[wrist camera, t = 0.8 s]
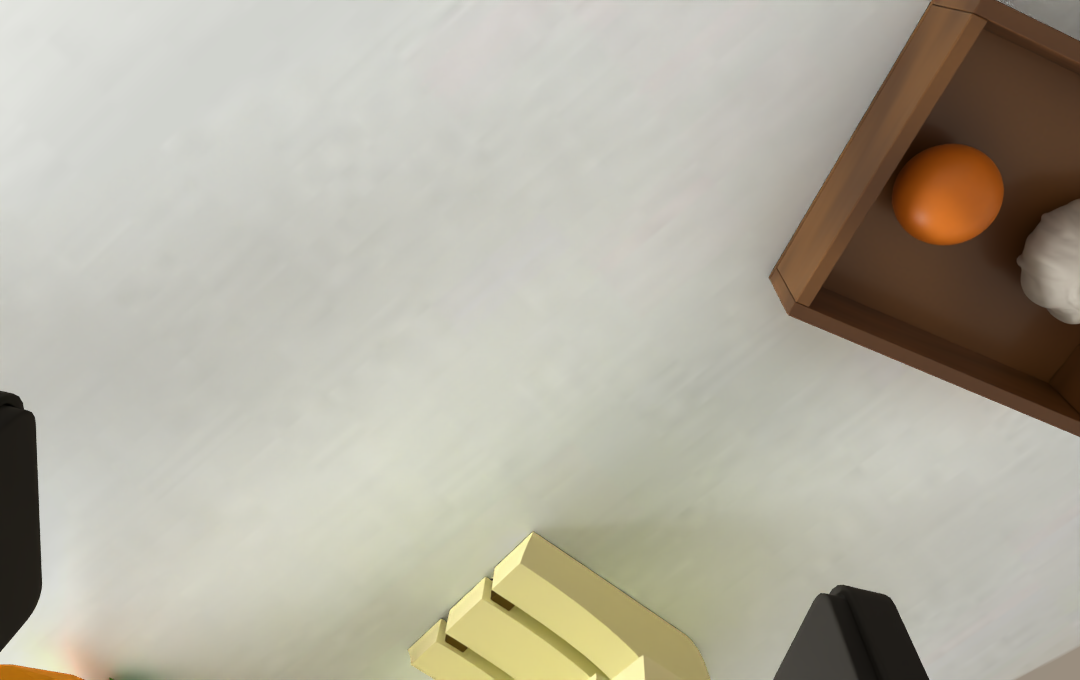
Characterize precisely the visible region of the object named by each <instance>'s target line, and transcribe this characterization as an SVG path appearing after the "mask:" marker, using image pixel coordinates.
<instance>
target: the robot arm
mask: <svg viewBox="0 0 1080 680" xmlns="http://www.w3.org/2000/svg"><path fill="white" fill-rule="evenodd" d="M41 589H42V572H41V546H40V521H39V495H38V470H37V445H36V422H35V417H34V415H33V413H32V412H30V411H28V410H24V407H23V402H22V401H21V399H20V397H19V396H17V395H15V394H12V393H8V392H3V391H0V652H1V651H2V649H3V648H4V647H5V646H6V645H7V643H8V642H9V641H10V640H11V639H12V637H13V636H14V635H15V634H16V633H17V631H18V630H19V629H20V628H21V627H22V626H23V624H24V623H25V622H26V621H27V620H28V618H29V617H30V615H31V614H32V613H33V611H34V609H35V607H36V605H37V603H38V600H39V597H40V594H41ZM773 680H929V678H928V676H927V674H926V671H925V669H924V667H923V665H922V663H921V661H920V658H919V656H918V654H917V652H916V650H915V647H914V645H913V643H912V641H911V639H910V637H909V634H908V632H907V630H906V628H905V626H904V623H903V621H902V619H901V617H900V615H899V613H898V610H897V608H896V606H895V604H894V603H893V601H892V600H891V598H890V597H888V596H886V595H884V594H880V593H876V592H871V591H867V590H863V589H858V588H854V587H850V586H845V585H837V586H836V587H835V588H833V589H832V591H831V592H830V594H825V593H820V594H819V595H818V596H817V597H816V598H815V600H814V601H813V603H812V605H811V607H810V609H809V611H808V613H807V615H806V617H805V619H804V621H803V623H802V625H801V626H800V628H799V630H798V632H797V634H796V636H795V638H794V640H793V642H792V644H791V646H790V648H789V650H788V652H787V654H786V656H785V658H784V660H783V662H782V663H781V665H780V667H779V669H778V671H777V673H776V675H775V677H774V679H773Z"/></svg>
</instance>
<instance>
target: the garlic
mask: <svg viewBox="0 0 1080 680" xmlns="http://www.w3.org/2000/svg"><path fill="white" fill-rule="evenodd" d="M1017 264H1018V265H1019V266H1020V267H1021V269H1022V271H1021V286H1022V289H1023V291H1024V293H1025V295H1026V296H1027V297H1028V298H1029V299H1030V300H1031V301H1032V302H1034V303H1035V304H1037V305H1039V306H1042V307H1044V308H1047V310H1048V311H1049V312H1050V314H1051V315H1053V316H1054V317H1055V318H1057V319H1058V320H1060V321H1062V322H1064V323H1067V324H1080V199H1076V200H1073V201H1071V202H1070V203H1068V204H1067V205H1064V206H1062V207H1059V208H1057V209H1055V210H1053V211H1051V212H1049V213H1045V214H1043V215H1042V216H1041V222H1040V223H1039V224H1038V225H1037V226H1036V228H1035V229H1034V231H1033V232H1032V233H1031V234H1030V235H1029V236H1028V237H1027V239H1026V242H1025V246H1024V250H1023V253H1022V254H1021V255H1020V256H1019V257H1018V258H1017Z"/></svg>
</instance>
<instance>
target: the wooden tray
mask: <svg viewBox="0 0 1080 680" xmlns="http://www.w3.org/2000/svg"><path fill="white" fill-rule="evenodd" d="M942 144H962V145H967V146H970V147H973V148H975V149H978V150H979V151H981V152H983V153H984V154H985V155H987V156H988V157H989V158H990V159H991V160H992V161H993V162H994V163H995V165H996V166H997V168H998V170H999V172H1000V174H1001V177H1002V180H1003V186H1004V196H1003V201H1002V205H1001V208H1000V210H999V213H998V215H997V216H996V218H995V219H994V221H993V222H992V223H991V225H990V226H989V227H988V228H987V229H986V230H984V231H983V232H982V233H981V234H979V235H978V236H976V237H974V238H972V239H970V240H968V241H965V242H963V243H959V244H955V245H945V246H942V245H932V244H928V243H925V242H922V241H920V240H918V239H916V238H914V237H913V236H911V235H910V234H909V233H907V232H906V231H905V230H904V229H903V228H902V226H901V225H900V223H899V222H898V220H897V218H896V216H895V213H894V210H893V206H892V191H893V186H894V183H895V180H896V178H897V176H898V174H899V172H900V171H901V169H902V168H903V167H904V165H905V164H906V163H907V162H908V161H909V160H910V159H912V158H913V157H914V156H915V155H917V154H918V153H920V152H922V151H924V150H926V149H928V148H931V147H934V146H937V145H942ZM1076 199H1080V41H1079V40H1077V39H1074V38H1072V37H1070V36H1068V35H1066V34H1064V33H1062V32H1060V31H1058V30H1056V29H1054V28H1052V27H1050V26H1048V25H1046V24H1044V23H1042V22H1040V21H1038V20H1036V19H1033V18H1031V17H1029V16H1027V15H1025V14H1023V13H1021V12H1019V11H1017V10H1015V9H1013V8H1011V7H1009V6H1007V5H1005V4H1003V3H1001V2H999V1H997V0H932V1H931V2H930V4H929V6H928V8H927V9H926V11H925V13H924V14H923V16H922V18H921V19H920V21H919V23H918V25H917V26H916V28H915V30H914V31H913V33H912V35H911V36H910V38H909V40H908V41H907V43H906V45H905V47H904V48H903V50H902V52H901V53H900V55H899V57H898V58H897V60H896V62H895V64H894V65H893V67H892V69H891V70H890V72H889V74H888V75H887V77H886V79H885V80H884V82H883V84H882V86H881V87H880V89H879V91H878V92H877V94H876V96H875V97H874V99H873V101H872V103H871V104H870V106H869V108H868V109H867V111H866V113H865V114H864V116H863V118H862V120H861V121H860V123H859V125H858V126H857V128H856V130H855V131H854V133H853V135H852V136H851V138H850V140H849V142H848V143H847V145H846V147H845V148H844V150H843V152H842V153H841V155H840V157H839V159H838V160H837V162H836V164H835V165H834V167H833V169H832V170H831V172H830V174H829V175H828V177H827V179H826V181H825V182H824V184H823V186H822V187H821V189H820V191H819V192H818V194H817V196H816V198H815V199H814V201H813V203H812V204H811V206H810V208H809V209H808V211H807V213H806V214H805V216H804V218H803V220H802V221H801V223H800V225H799V226H798V228H797V230H796V231H795V233H794V235H793V237H792V238H791V240H790V242H789V243H788V245H787V247H786V248H785V250H784V252H783V254H782V255H781V257H780V259H779V260H778V262H777V264H776V265H775V267H774V269H773V270H772V272H771V274H770V276H769V279H770V281H771V283H772V285H773V287H774V289H775V291H776V293H777V295H778V297H779V299H780V301H781V303H782V305H783V307H784V309H785V310H786V312H787V314H788V315H789V316H792V317H794V318H796V319H799V320H801V321H804V322H806V323H808V324H811V325H813V326H816V327H818V328H820V329H823V330H825V331H828V332H830V333H832V334H835V335H837V336H839V337H842V338H844V339H847V340H849V341H851V342H854V343H856V344H859V345H861V346H863V347H866V348H868V349H871V350H873V351H875V352H878V353H880V354H883V355H885V356H887V357H890V358H892V359H895V360H897V361H899V362H902V363H904V364H907V365H909V366H911V367H914V368H916V369H919V370H921V371H923V372H926V373H928V374H930V375H933V376H935V377H938V378H940V379H942V380H945V381H947V382H950V383H952V384H954V385H957V386H959V387H962V388H964V389H966V390H969V391H971V392H974V393H976V394H978V395H981V396H983V397H986V398H988V399H990V400H993V401H995V402H998V403H1000V404H1002V405H1005V406H1007V407H1010V408H1012V409H1014V410H1017V411H1019V412H1021V413H1024V414H1026V415H1029V416H1031V417H1033V418H1036V419H1038V420H1041V421H1043V422H1045V423H1048V424H1050V425H1053V426H1055V427H1057V428H1060V429H1062V430H1065V431H1067V432H1069V433H1072V434H1074V435H1077V436H1079V437H1080V324H1067V323H1064V322H1062V321H1060V320H1058V319H1057V318H1055V317H1054V316H1053V315H1051V314H1050V312H1049V311H1048V310H1047V308H1044V307H1042V306H1039V305H1037V304H1035V303H1034V302H1032V301H1031V300H1030V299H1029V298H1028V297H1027V296H1026V295H1025V293H1024V291H1023V289H1022V286H1021V271H1022V269H1021V267H1020V266H1019V265H1018V264H1017V258H1018V257H1019V256H1020V255H1021V254H1022V253H1023V250H1024V246H1025V242H1026V239H1027V237H1028V236H1029V235H1030V234H1031V233H1032V232H1033V231H1034V229H1035V228H1036V226H1037V225H1038V224H1039V223H1040V222H1041V216H1042V215H1043V214H1045V213H1049V212H1051V211H1053V210H1055V209H1057V208H1059V207H1062V206H1064V205H1067V204H1068V203H1070V202H1071V201H1073V200H1076Z"/></svg>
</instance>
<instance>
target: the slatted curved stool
mask: <svg viewBox="0 0 1080 680" xmlns="http://www.w3.org/2000/svg"><path fill="white" fill-rule="evenodd" d="M408 652H409V654H410V658H411V665H412V666H414V667H415V668H417V669H419V670H420V671H422V672H424V673H425V674H427V675H429V676H430V677H432V678H433V679H435V680H710V677H709V673H708V671H707V668H706V665H705V662H704V660H703V658H702V656H701V654H700V652H699V650H698V649H697V647H696V646H695V645H694V643H693V642H692V640H691V639H690V638H689V637H687V636H686V635H685V634H684V633H682V632H681V631H679V630H678V629H676V628H675V627H673V626H672V625H670V624H669V623H667V622H666V621H664V620H663V619H662V618H660V617H659V616H657V615H656V614H654V613H653V612H651V611H650V610H648V609H647V608H645V607H644V606H642V605H641V604H639V603H638V602H636V601H635V600H634V599H632V598H631V597H629V596H628V595H626V594H625V593H623V592H622V591H620V590H619V589H617V588H616V587H614V586H613V585H611V584H610V583H608V582H607V581H606V580H604V579H603V578H601V577H600V576H598V575H597V574H595V573H594V572H592V571H591V570H589V569H588V568H586V567H585V566H583V565H582V564H580V563H579V562H578V561H576V560H575V559H573V558H572V557H570V556H569V555H567V554H566V553H564V552H563V551H561V550H560V549H558V548H557V547H555V546H554V545H552V544H551V543H550V542H548V541H547V540H545V539H544V538H542V537H541V536H539V535H538V534H536V533H535V532H532V533H531V534H530V535H529V536H528V537H527V538H526V539H525V540H524V541H523V542H522V543H521V544H519V545H518V546H517V547H516V548H515V549H514V550H513V551H512V552H511V553H510V554H509V555H508V556H507V557H506V558H505V559H504V560H503V561H501V562H500V563H499V564H498V565H497V566H496V567H495V570H494V577H493V581H492V580H490V579H489V578H487V577H484V578H483V579H482V580H481V581H480V582H479V583H478V584H477V585H476V586H475V587H474V588H473V589H472V590H471V591H470V592H469V593H468V594H466V595H465V596H464V597H463V598H462V599H461V600H460V601H459V602H458V603H457V604H456V605H455V606H454V607H453V608H452V609H451V610H450V612H449V616H448V621H447V622H446V621H444V620H443V619H440V620H439V621H438V622H437V623H436V624H435V625H434V626H433V627H432V628H430V629H429V630H428V631H427V632H426V633H425V634H424V635H423V636H422V637H421V638H420V639H419V640H418V641H417V642H416V643H415V644H414V645H412V646H411V647H410V648H409V649H408Z"/></svg>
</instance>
